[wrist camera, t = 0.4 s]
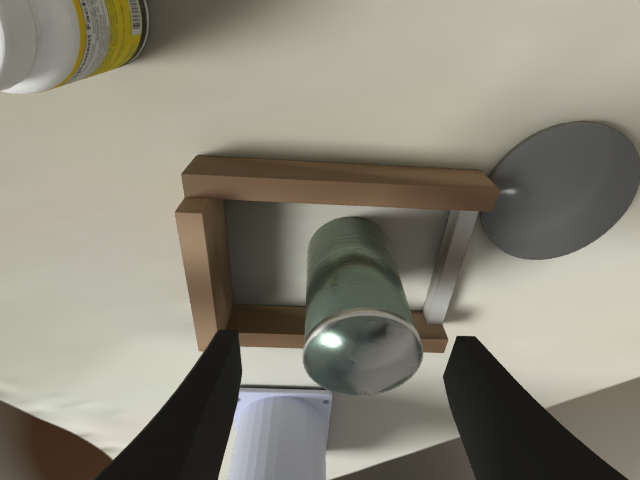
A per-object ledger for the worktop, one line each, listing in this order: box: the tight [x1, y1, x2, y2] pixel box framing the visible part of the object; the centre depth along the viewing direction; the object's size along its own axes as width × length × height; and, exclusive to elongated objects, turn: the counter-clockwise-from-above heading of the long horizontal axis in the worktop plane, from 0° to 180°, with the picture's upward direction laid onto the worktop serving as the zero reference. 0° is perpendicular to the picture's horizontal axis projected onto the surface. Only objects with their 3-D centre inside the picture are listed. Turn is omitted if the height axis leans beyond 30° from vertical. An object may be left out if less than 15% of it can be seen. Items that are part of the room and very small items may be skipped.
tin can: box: [303, 217, 423, 396], centre depth 19 cm, size 5×5×8 cm
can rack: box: [175, 156, 500, 353], centre depth 21 cm, size 11×15×4 cm
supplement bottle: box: [0, 0, 149, 94], centre depth 12 cm, size 5×5×8 cm
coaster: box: [480, 121, 640, 260], centre depth 20 cm, size 8×8×1 cm
